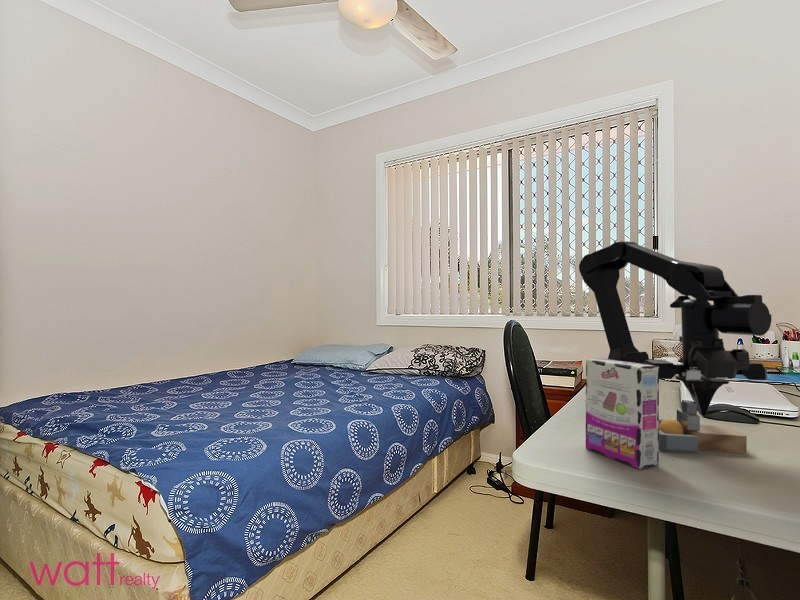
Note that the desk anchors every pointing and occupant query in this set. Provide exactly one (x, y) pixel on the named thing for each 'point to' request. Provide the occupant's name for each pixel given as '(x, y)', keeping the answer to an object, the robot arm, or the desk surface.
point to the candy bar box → (623, 411)
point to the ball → (671, 427)
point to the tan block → (719, 439)
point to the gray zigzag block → (689, 415)
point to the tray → (677, 442)
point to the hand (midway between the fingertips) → (702, 415)
